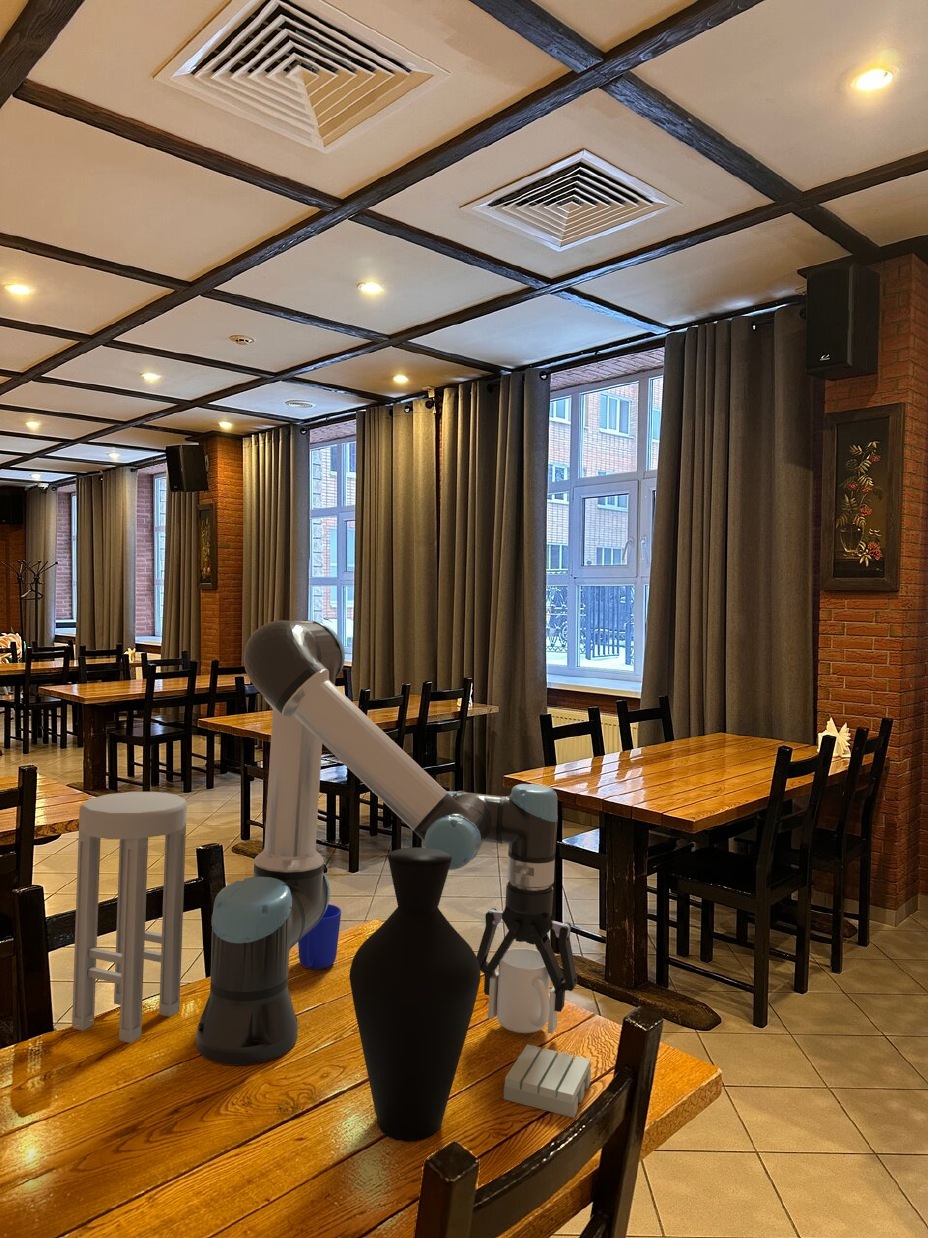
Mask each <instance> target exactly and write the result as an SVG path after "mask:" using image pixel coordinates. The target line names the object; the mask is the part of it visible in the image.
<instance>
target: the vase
mask: <svg viewBox="0 0 928 1238" xmlns="http://www.w3.org/2000/svg"><path fill="white" fill-rule="evenodd" d="M387 858H388V859H387V860H388V865H389V869H390V870H389V871H390V874H391V879H392V884H393V889H394V893H395V898H396V904H397V907H396V909H395V910H394V911H393V912H392V913H391V914H390V915H389V917H388V918H387V919H386V920H385V921H384V922H383V923H382V924H381V925H380V926H379V927H378V928H377V929H376V930H375V931H373V933H372V934H371V935H369V937H368V938H366V939H365V941H364V942H363V943H362V944H361V945H360V946H359V948H358V949H357V951H356V952H355V954H354V956H353V957H352V958H353V959H352V960H351V964H350V969H349V977H348V979H349V983H350V989H351V996H352V1001H353V1002H352V1003H353V1007H354V1012H355V1019H356V1023H357V1028H358V1031H359V1032H358V1033H359V1036H360V1037H359V1038H360V1042H361V1048H362V1053H363V1056H364V1057H363V1058H364V1062H365V1063H364V1064H365V1067H366V1071H367V1078H368V1082H369V1083H368V1084H369V1088H370V1092H371V1097H372V1102H373V1103H372V1104H373V1107H374V1112H375V1117H376V1121H377V1127H378V1128H379V1130H380V1132H381V1133H382V1134H384V1135H385V1136H386V1137H387V1138H389V1139H392V1140H395V1141H398V1142H404V1143H408V1142H409V1143H410V1142H411V1143H414V1142H420V1141H424V1140H427V1139H429V1138H432V1137H433V1136H435V1135H436V1134H437V1133H438V1132H439V1131H440V1128H441V1126H442V1123H443V1119H444V1117H445V1112H446V1110H447V1105H448V1101H449V1097H450V1095H451V1091H452V1087H453V1084H454V1080H455V1076H456V1073H457V1069H458V1065H459V1062H460V1059H461V1056H462V1052H463V1048H464V1045H465V1041H466V1038H467V1033H468V1030H469V1026H470V1022H471V1019H472V1015H473V1013H474V1009H475V1005H476V1002H477V1001H476V1000H477V996H478V994H479V989H480V988H479V987H480V984H481V980H482V979H481V971H480V967H479V962H478V960H477V954H476V953H475V951H474V950H473V948H472V946H471V945H470V943H468V942H467V941H466V940H465V939H464V937H463V936H462V935H461V934H459V933H460V932H458V931H457V930H456V929H455V928H454V926H452V924H451V923H450V922H449V920H448V919H447V918H446V916H445V915H444V914H443V913H442V911H441V910H440V909H439V904H440V901H441V898H442V894H443V891H444V887H445V885H446V884H445V883H446V880H447V877H448V874H449V871H450V870H449V867H450V864H451V860H452V857H451V855H450V854H449V853H447V852H444V851H441V850H437V849H432V848H425V847H405V848H404V847H403V848H400V849H399V848H398V849H395V850H392V851H390V852H389V853H387Z"/></svg>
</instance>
